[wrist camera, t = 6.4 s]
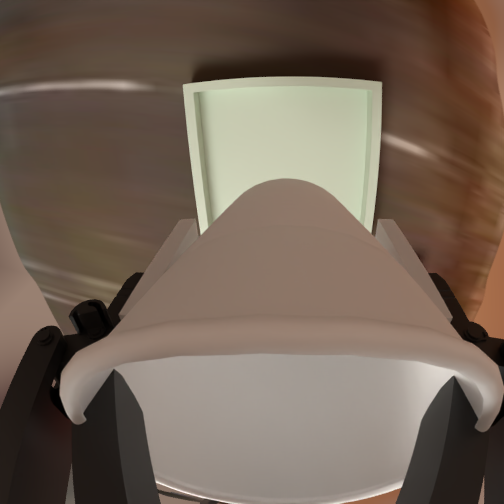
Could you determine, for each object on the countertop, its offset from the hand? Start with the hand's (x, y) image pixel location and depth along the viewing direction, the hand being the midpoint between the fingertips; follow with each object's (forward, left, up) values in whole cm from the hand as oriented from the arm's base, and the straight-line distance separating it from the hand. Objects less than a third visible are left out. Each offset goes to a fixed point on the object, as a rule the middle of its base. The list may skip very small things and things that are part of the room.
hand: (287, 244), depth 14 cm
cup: (0, 0, -1) cm, 1 cm away
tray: (0, 0, -14) cm, 14 cm away
